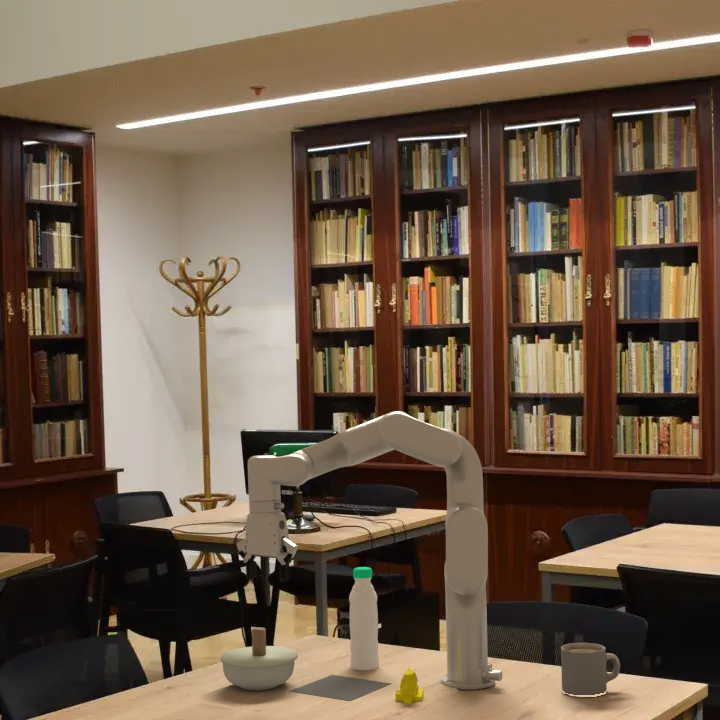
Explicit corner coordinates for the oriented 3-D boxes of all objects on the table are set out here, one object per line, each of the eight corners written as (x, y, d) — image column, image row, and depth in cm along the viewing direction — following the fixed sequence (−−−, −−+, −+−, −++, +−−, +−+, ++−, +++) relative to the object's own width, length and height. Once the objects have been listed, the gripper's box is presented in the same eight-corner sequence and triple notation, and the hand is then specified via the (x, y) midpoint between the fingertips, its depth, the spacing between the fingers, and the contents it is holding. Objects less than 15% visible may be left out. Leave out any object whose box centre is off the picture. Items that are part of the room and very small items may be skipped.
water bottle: (376, 672, 288) (373, 570, 288) (347, 672, 289) (345, 570, 290) (381, 665, 295) (379, 565, 295) (353, 665, 296) (351, 565, 297)
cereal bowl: (309, 686, 277) (309, 656, 277) (257, 701, 265) (257, 670, 265) (260, 675, 289) (259, 646, 289) (208, 689, 276) (207, 659, 276)
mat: (391, 686, 275) (391, 683, 275) (350, 703, 261) (350, 700, 261) (332, 677, 285) (332, 674, 285) (289, 693, 271) (289, 691, 271)
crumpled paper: (424, 697, 266) (423, 662, 266) (421, 706, 258) (420, 671, 258) (398, 696, 267) (398, 662, 267) (394, 706, 259) (393, 670, 259)
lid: (312, 654, 280) (312, 625, 280) (266, 670, 264) (265, 640, 265) (252, 646, 289) (252, 618, 289) (204, 662, 274) (204, 632, 274)
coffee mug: (565, 698, 261) (564, 653, 262) (559, 686, 271) (557, 643, 272) (626, 697, 261) (625, 652, 261) (617, 685, 271) (616, 642, 271)
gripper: (304, 506, 278) (306, 579, 277) (246, 505, 287) (249, 575, 287) (285, 510, 271) (287, 584, 271) (226, 508, 281) (229, 580, 280)
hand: (267, 580), depth 279 cm, fingers open, 9 cm apart
